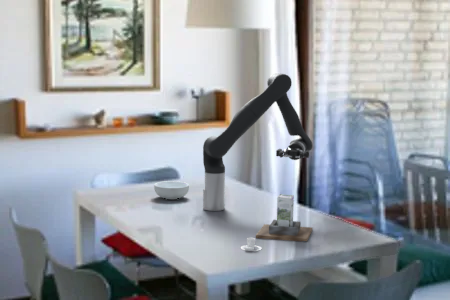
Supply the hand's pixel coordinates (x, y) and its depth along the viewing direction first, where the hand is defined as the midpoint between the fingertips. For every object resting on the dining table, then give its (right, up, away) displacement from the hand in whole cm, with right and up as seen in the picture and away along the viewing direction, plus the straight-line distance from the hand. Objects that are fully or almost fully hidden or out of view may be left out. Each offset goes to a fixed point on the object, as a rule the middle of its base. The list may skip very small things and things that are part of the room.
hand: (290, 155), depth 311 cm
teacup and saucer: (-21, -35, -42) cm, 58 cm away
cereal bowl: (-54, -21, +44) cm, 73 cm away
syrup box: (-4, -30, -21) cm, 37 cm away
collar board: (-4, -31, -21) cm, 38 cm away
